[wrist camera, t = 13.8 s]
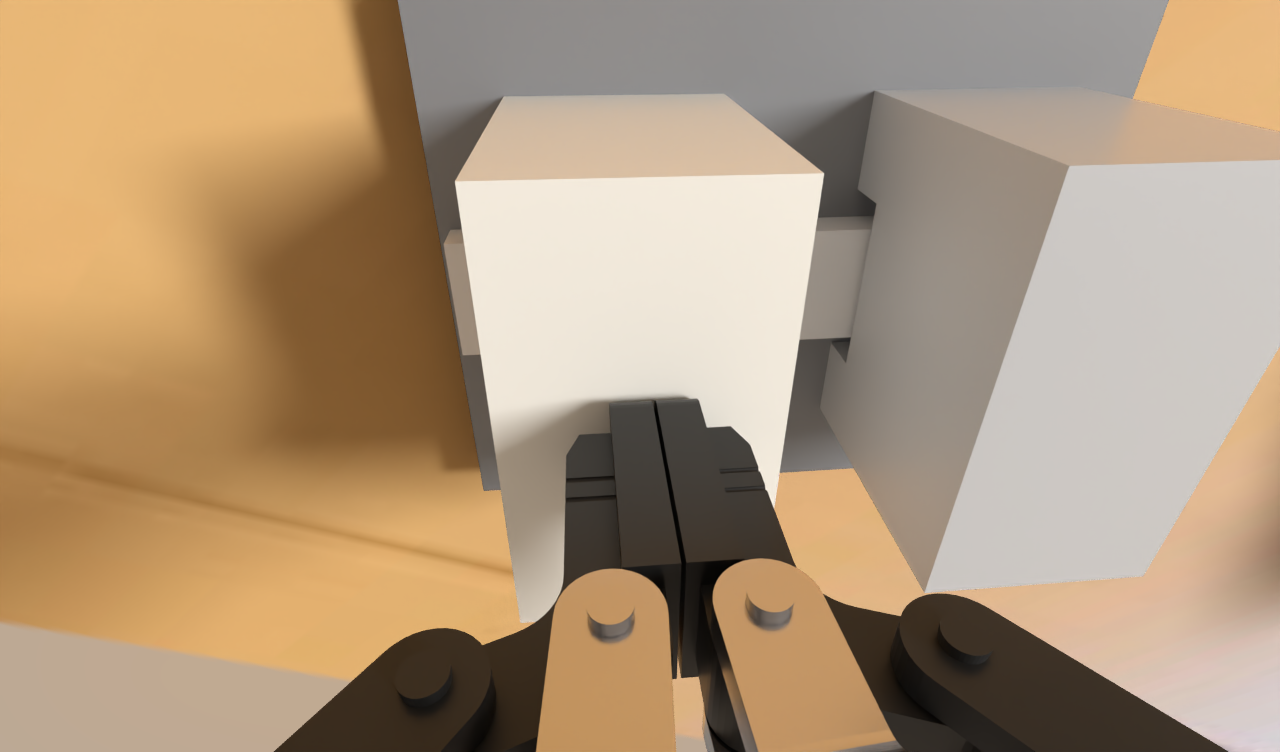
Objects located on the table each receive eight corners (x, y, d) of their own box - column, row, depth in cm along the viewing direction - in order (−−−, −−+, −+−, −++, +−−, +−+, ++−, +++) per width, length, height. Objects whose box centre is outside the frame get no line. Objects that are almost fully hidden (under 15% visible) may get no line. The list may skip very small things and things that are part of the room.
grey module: (819, 410, 20) (923, 596, 14) (874, 90, 15) (1069, 166, 9) (975, 402, 20) (1141, 579, 14) (1077, 86, 15) (1392, 156, 10)
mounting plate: (489, 460, 22) (465, 593, 17) (408, -34, 14) (326, -38, 10) (975, 432, 23) (1077, 549, 18) (1132, -37, 15) (1372, -42, 11)
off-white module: (537, 425, 19) (520, 626, 13) (503, 96, 14) (455, 181, 9) (703, 417, 20) (759, 608, 14) (724, 93, 15) (824, 172, 9)
